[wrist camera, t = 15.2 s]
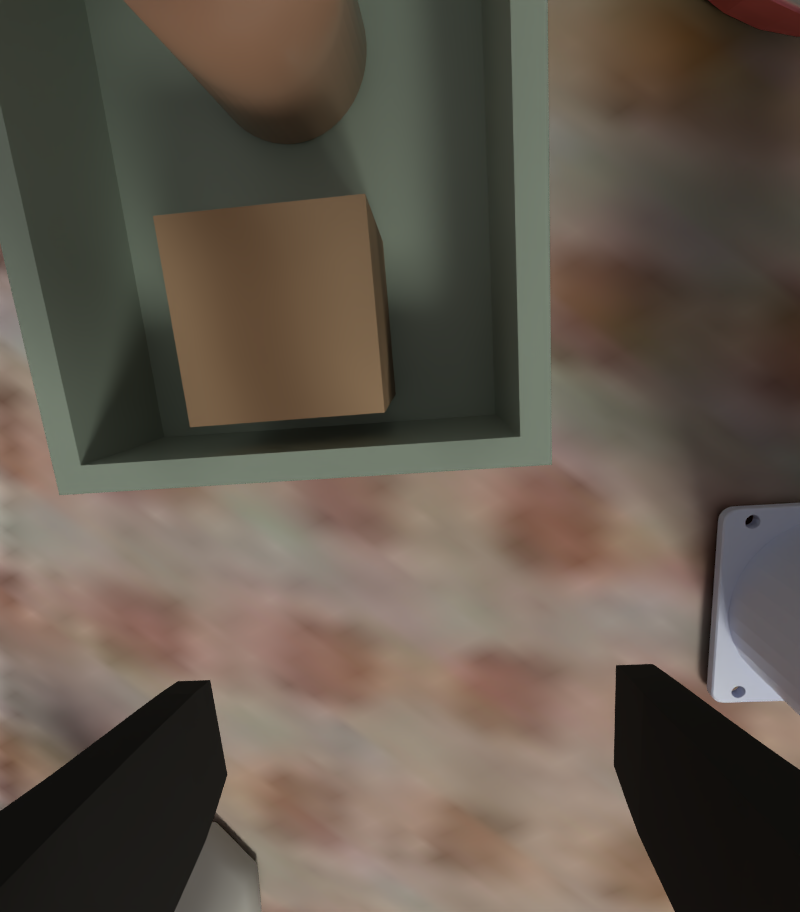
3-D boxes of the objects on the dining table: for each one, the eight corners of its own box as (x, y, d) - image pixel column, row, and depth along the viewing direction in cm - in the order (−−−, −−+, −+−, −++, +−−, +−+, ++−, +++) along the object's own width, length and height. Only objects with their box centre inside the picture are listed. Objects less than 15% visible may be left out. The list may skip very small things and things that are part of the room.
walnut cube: (382, 241, 16) (365, 193, 11) (395, 394, 17) (384, 412, 12) (234, 256, 16) (153, 216, 11) (256, 405, 17) (190, 427, 12)
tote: (500, -171, 14) (543, -454, 9) (515, 432, 18) (551, 464, 13) (50, -107, 15) (-136, -334, 10) (155, 456, 18) (59, 494, 14)
